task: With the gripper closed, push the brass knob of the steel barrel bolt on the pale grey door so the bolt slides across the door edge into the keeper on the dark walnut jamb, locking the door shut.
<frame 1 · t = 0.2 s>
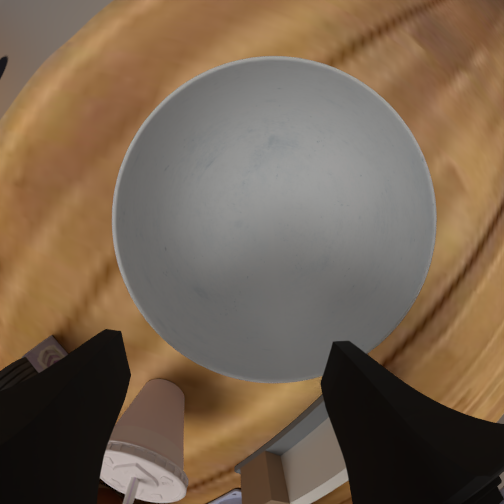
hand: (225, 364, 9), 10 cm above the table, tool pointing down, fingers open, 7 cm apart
smoothie: (164, 394, 20), on the table
chinaware: (269, 216, 19), on the table
door: (339, 441, 22), on the table
cake pan box: (40, 384, 20), on the table
butternut squash: (108, 489, 23), on the table
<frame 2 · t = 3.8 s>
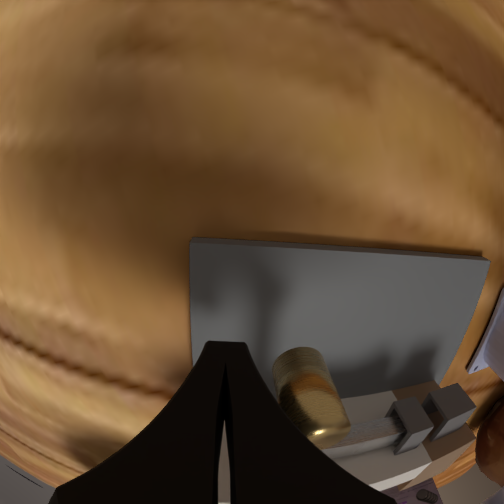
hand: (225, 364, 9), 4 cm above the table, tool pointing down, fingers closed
door: (345, 353, 14), on the table
cake pan box: (376, 488, 24), on the table
butternut squash: (494, 404, 21), on the table
bolt: (368, 425, 8), point 5 cm above the table, slide at 1.0 cm, touching gripper
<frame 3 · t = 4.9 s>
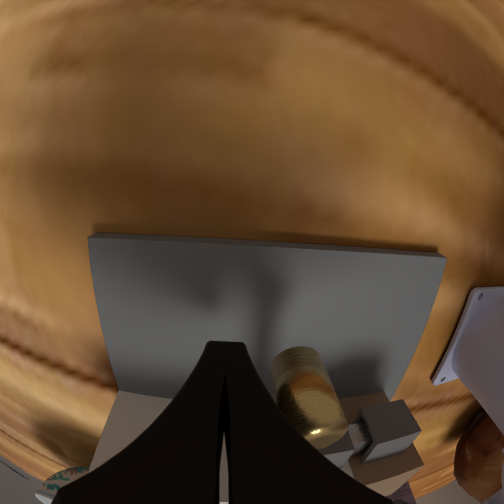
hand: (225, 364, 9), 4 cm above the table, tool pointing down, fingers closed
chinaware: (120, 474, 19), on the table
door: (262, 355, 13), on the table
cake pan box: (348, 496, 24), on the table
butternut squash: (478, 414, 20), on the table
bolt: (366, 425, 8), point 5 cm above the table, slide at 5.5 cm, touching gripper
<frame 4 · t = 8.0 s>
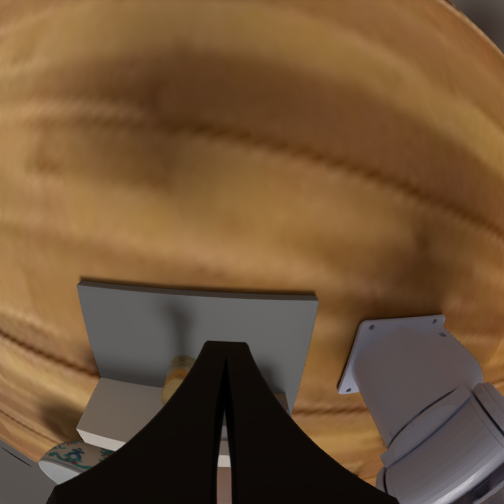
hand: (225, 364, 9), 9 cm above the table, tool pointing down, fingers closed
smoothie: (232, 461, 26), on the table
chinaware: (106, 449, 25), on the table
door: (187, 358, 20), on the table
bolt: (233, 410, 15), point 5 cm above the table, slide at 5.5 cm
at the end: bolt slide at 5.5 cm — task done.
